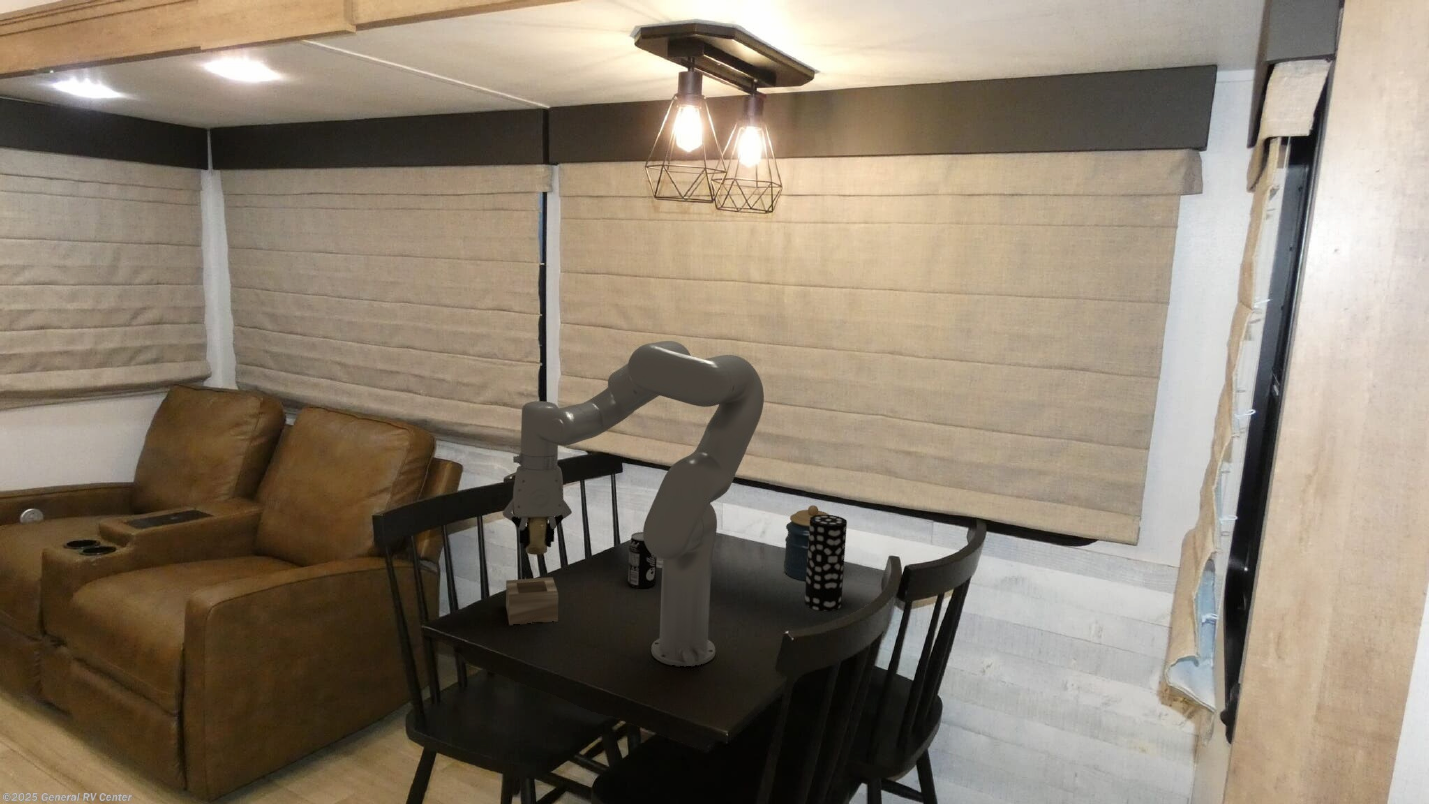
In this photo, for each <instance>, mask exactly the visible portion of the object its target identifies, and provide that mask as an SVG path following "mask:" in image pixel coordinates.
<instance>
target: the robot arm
mask: <svg viewBox="0 0 1429 804" xmlns="http://www.w3.org/2000/svg"><path fill="white" fill-rule="evenodd" d="M764 394H765V393H764V386H763V382H762V380H761V378H760V375H759V373H758V372H757V370H756V369H755V367H754V366H753V365H752V364H751V363H750V362H749V361H748V360H746V359H745V358H743V357H741V356H738V355H736V354H723V355H717V356H712V357H708V358H701V357H700V358H699V357H695V356H692V355H691V353H690V352H689V350H688V349H687V347H685V346H684V345H683V344H682V343H679V342H677V341H673V340H665V341H663V340H662V341H657V342H650V343H646V344H643V345H641V346H639V347H638V348H636V349H635V350H634V352H632V354H631V355H630V356H629V359H628V361H627V363H626V364H625V365H623V366H622V367H620V368H618V369H617V370H615V371H614V372H612V373H610V376H608V380H607V388H605V389H604V390H602V391H601V392H599V393H598V394H596V395H595V396H593V397H591V398H589V400H587V401H584V402H582V403H576V404H573V405H568V406H564V407H559V406H558V405H557V404H556V403H553V402H550V401H543V400H542V401H541V400H540V401H539V400H538V401H537V400H536V401H535V400H534V401H529V402H526V403H524V405H523V407H522V409H521V423H520V424H521V428H520V429H521V433H520V434H521V435H520V452H519V454H518V455H515V456H513V459H512V460H513V463H515V464H518V465H519V466H517V467H516V468H517V469H516V472H515V476H514V484H513V491H512V498H511V500H510V501H509V503H508V505H506V507H505V508H504V509H503V511H502V515H503V517H504V518H506V519H508V520H509V521H510V522H512V523H513V524H514V525H515V526H516V527H518V528H519V534H518V535H519V536H518V538H519V539H518V541H519V544H521V545H522V548H523V549H526V548H527V533H528V531H527V529H526V526H527V519H528V517H548V535H547V548H551V547H552V543H554V542H555V529H556V528H557V526H559V525H560V523H561V522H562V521H563V520H564V519H566V518H568V517H569V516H570V515H571V514H572V512H573V511H572V509H571V508H570V506H569V504H568V503H567V502H566V500H564V480H563V478H564V477H563V473H562V468H561V467H560V466H559V465H558V461H559V460H558V458H559V457H558V453H559V446H562V447H563V446H570V445H574V444H577V443H580V442H583V441H586V440H590V439H593V438H595V437H597V436H599V435H601V434H603V433H605V432H606V431H608V430H610V429H612V428H613V427H615V426H616V425H618V424H620V423H621V422H623V421H624V420H626V419H627V418H629V416H631V415H632V414H634V413H635V412H636V411H637V410H638V409H641V408H642V407H644V406H645V405H646V404H649V403H650V402H651V401H653V400H655V399H656V398H658V397H659V396H661V397H664V398H668V399H671V400H675V401H678V402H681V403H684V404H688V405H691V406H696V407H700V408H702V407H703V408H709V407H716V406H717V405H718V406H717V408H716V410H715V412H714V413H713V415H712V417H711V418H710V419H709V421H708V423H707V425H706V428H705V430H704V433H703V435H702V437H701V439H700V442H699V444H698V445H697V447H696V448H695V450H694V451H693V452H692V453H691V454H689V455H687V456H685V457H683V458H680V459H679V460H678V461H676V462H675V463H673V464H672V465H671V467H670V468H669V469H668V470H667V472H666V473H665V475H664V477H663V479H662V481H661V484H660V486H659V488H658V491H657V492H656V495H655V497H654V500H653V502H652V504H651V506H650V508H649V510H648V513H647V516H646V518H645V521H644V523H643V524H644V525H643V530H642V532H643V538H644V542H645V545H646V547H647V549H648V550H649V552H650V553H651V554H652V555H654V556H655V557H657V558H659V559H663V566H662V569H661V589H660V590H661V591H660V595H661V596H660V617H659V618H660V620H659V621H660V622H659V638H657V639H656V640H655V641H653V642H652V644H651V655H652V657H653V658H654V659H656V660H657V661H659V662H661V663H662V664H664V665H669V666H672V665H675V666H674V667H680V666H684V668H685V667H686V666H691V667H696V666H695V665H697V666H701V664H702V665H704V664H706V663H708V662H710V661H711V660H713V659H714V657H715V656H716V646H715V644H714V642H712V641H711V640H709V624H710V622H709V621H710V601H711V597H710V596H711V580H712V564H713V562H712V560H713V552H714V548H715V541H716V535H717V528H718V518H717V513H716V510H715V508H714V506H713V505H712V503H713V502H715V501H716V500H718V499H720V498H721V497H723V496H724V495H725V494H726V493H727V492H728V491H729V489H730V487H731V486H732V483H733V481H734V479H735V476H736V474H737V472H738V469H739V468H740V465H741V462H742V460H744V459H743V458H744V456H745V454H746V452H747V449H748V446H749V444H750V442H751V440H752V437H753V436H754V434H755V431H756V429H757V427H758V425H759V422H760V420H761V416H762V413H763V408H764V401H765V397H764V396H765V395H764ZM686 668H687V667H686Z"/></svg>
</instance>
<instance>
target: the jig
mask: <svg viewBox="0 0 1429 804" xmlns="http://www.w3.org/2000/svg"><path fill="white" fill-rule="evenodd" d="M505 582H506V583H505V598H506V599H505V608H506V614H507V620H508V624H509V625H508V626H514V625H513V624H520V625H528V624H527V623H531V624H533V623H532V622H543V623H551V622H552V621H554V622H559V592H558V590H557V589H558V588H557V586H556V583H555V580H554V577H553V576H552V577H551V576H550V577H538V578H524V579H523V578H521V579H509V580H505Z"/></svg>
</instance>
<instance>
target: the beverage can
mask: <svg viewBox="0 0 1429 804" xmlns="http://www.w3.org/2000/svg"><path fill="white" fill-rule="evenodd" d="M628 543H629V544H628V569H627V570H628V577H627V581H628V583H629V585H630V586H631V587H633V588H636V589H648V588H652V587H653V586H654V584H655V583H656V582H657V567H656V561H657V557H655V556H654V555H652V554H651V553H650V552H649V550H648V549H647V547H646V545H645V542H644V538H643V531H638V532H634V533H632V534H631V537H630V539H629V542H628Z"/></svg>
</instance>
